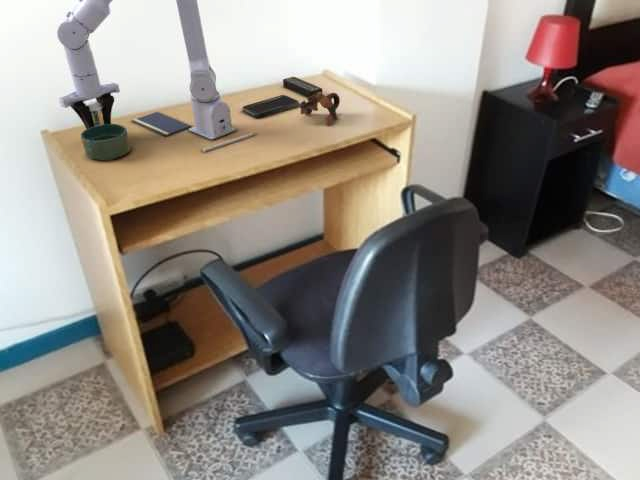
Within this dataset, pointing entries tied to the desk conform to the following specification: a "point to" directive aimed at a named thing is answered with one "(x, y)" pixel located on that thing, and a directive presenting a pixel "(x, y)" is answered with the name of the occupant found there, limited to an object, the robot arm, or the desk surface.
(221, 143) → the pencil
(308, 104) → the brown looped figurine
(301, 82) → the multiport hub
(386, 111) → the desk surface
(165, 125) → the blue notebook
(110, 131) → the bowl
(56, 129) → the desk surface
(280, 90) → the desk surface
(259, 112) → the phone
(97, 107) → the milkshake
